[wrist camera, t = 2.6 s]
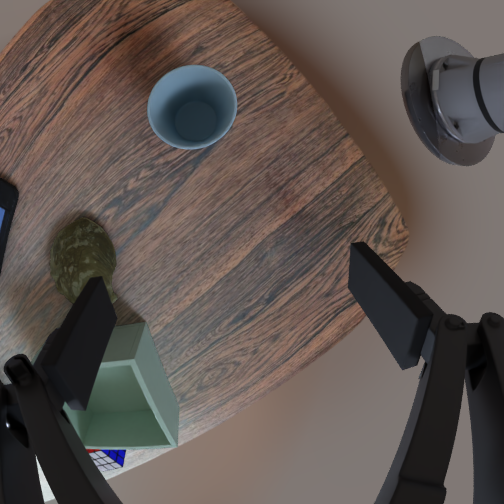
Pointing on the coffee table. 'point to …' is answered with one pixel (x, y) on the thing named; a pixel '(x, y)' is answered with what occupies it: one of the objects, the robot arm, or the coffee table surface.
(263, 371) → the coffee table surface
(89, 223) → the seashell
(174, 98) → the cup
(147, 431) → the tub
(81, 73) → the coffee table surface
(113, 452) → the rubik's cube
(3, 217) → the game console
